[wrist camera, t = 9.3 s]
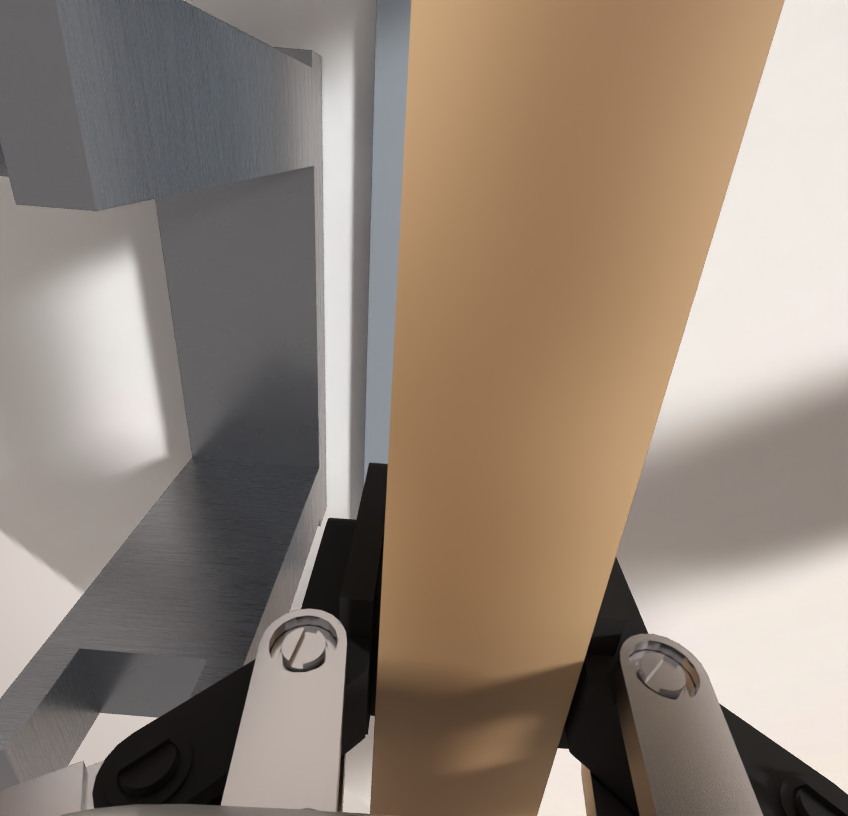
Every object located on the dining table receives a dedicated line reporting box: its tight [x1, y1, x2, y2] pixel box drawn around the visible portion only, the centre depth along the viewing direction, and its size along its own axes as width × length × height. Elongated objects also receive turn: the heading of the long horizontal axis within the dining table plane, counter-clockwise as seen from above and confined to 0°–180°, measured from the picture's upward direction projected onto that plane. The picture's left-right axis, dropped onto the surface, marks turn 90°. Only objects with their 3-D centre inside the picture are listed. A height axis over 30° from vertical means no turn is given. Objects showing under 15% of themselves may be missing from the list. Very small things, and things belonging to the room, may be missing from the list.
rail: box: [370, 0, 784, 816], centre depth 10 cm, size 3×24×3 cm, turn 176°
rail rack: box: [0, 0, 326, 791], centre depth 17 cm, size 6×20×15 cm, turn 176°
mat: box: [364, 0, 411, 484], centre depth 23 cm, size 8×28×1 cm, turn 176°
